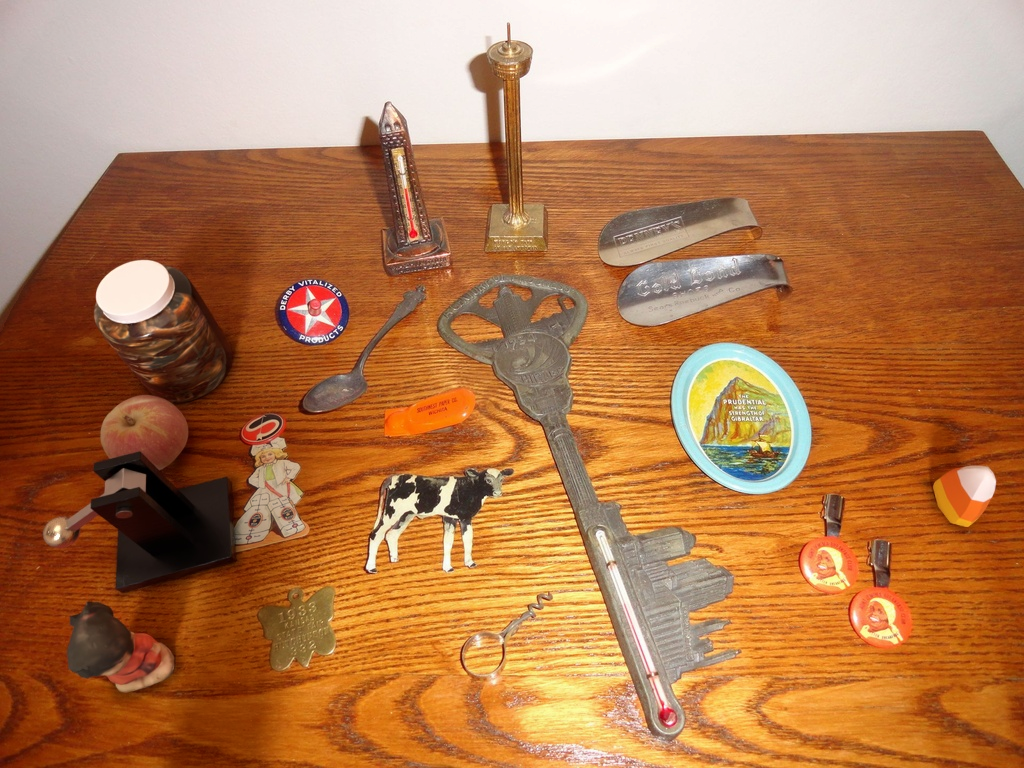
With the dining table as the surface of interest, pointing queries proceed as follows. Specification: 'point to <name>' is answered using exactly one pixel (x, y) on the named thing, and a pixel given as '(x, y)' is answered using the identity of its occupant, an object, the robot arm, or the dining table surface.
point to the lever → (89, 510)
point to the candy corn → (964, 493)
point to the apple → (145, 430)
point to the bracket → (166, 524)
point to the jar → (162, 330)
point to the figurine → (115, 650)
